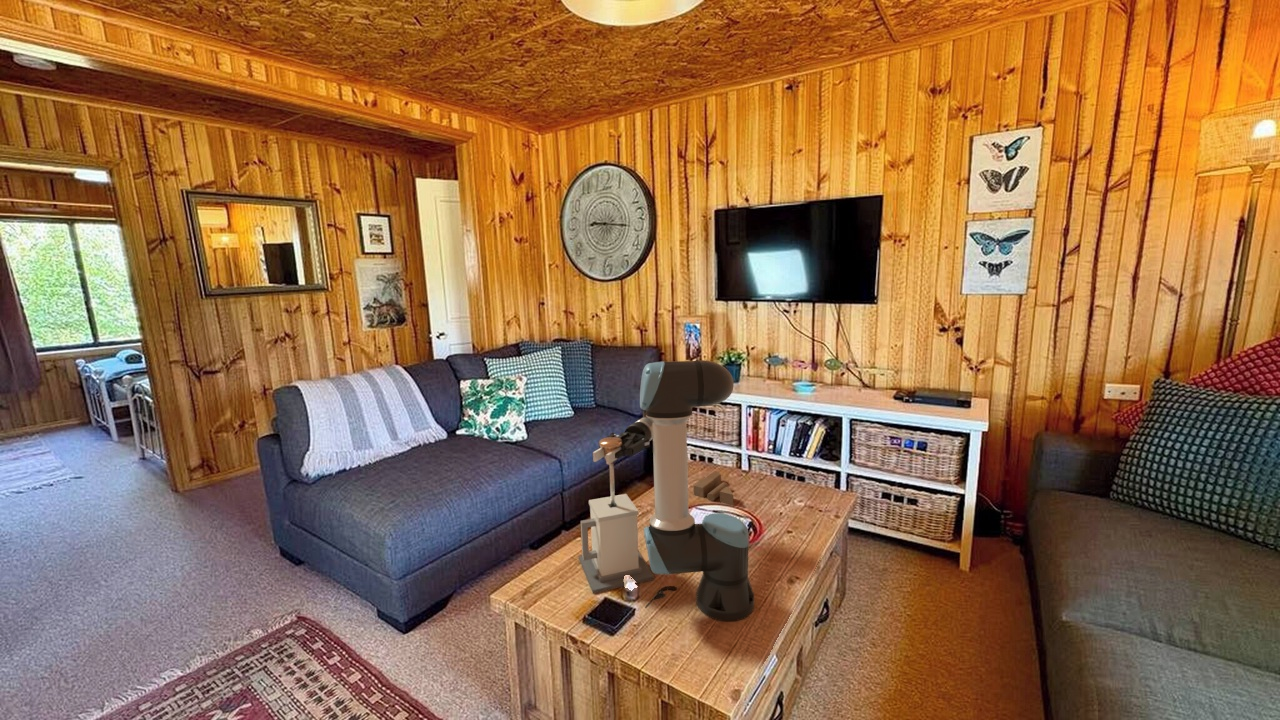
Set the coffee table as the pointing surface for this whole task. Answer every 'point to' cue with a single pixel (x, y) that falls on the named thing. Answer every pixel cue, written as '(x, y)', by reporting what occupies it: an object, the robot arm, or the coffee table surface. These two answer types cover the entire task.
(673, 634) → the coffee table surface
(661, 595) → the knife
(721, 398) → the robot arm
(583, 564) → the mat
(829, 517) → the coffee table surface
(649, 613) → the coffee table surface
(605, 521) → the press
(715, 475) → the wooden block set
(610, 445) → the plunger
